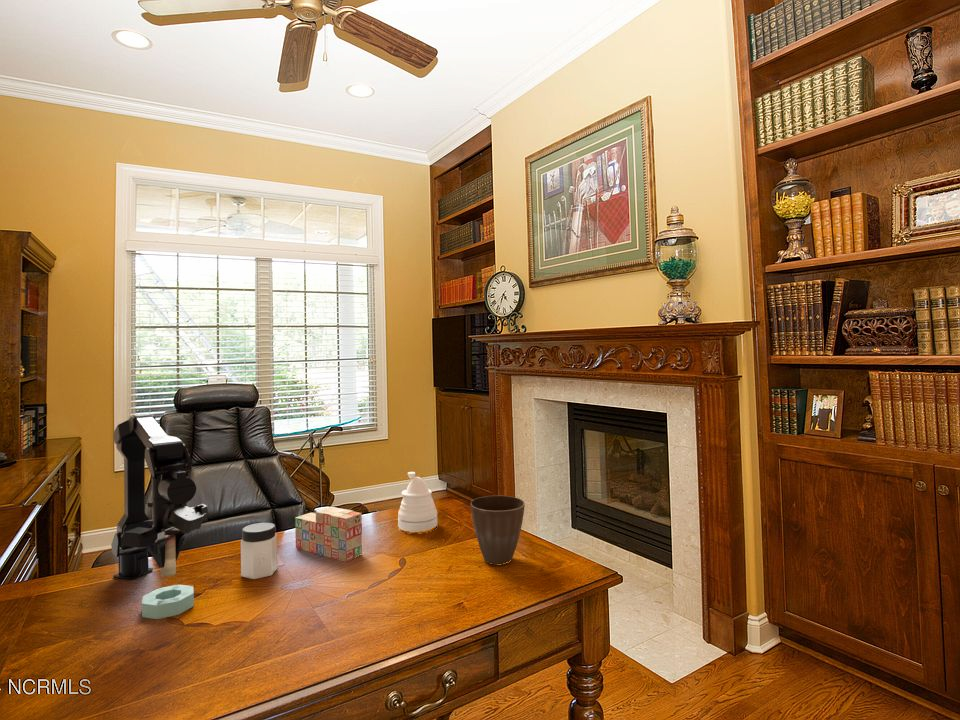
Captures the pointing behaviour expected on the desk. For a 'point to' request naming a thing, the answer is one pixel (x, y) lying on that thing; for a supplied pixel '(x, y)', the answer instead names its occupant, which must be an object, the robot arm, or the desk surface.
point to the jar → (258, 550)
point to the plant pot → (497, 526)
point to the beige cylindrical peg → (169, 557)
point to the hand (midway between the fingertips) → (167, 564)
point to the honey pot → (417, 507)
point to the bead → (167, 601)
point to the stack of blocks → (330, 533)
